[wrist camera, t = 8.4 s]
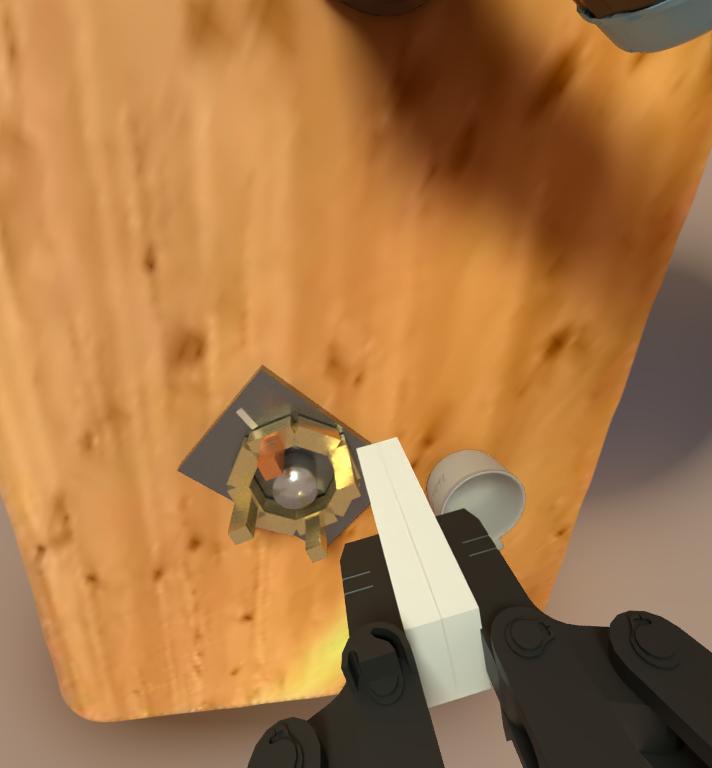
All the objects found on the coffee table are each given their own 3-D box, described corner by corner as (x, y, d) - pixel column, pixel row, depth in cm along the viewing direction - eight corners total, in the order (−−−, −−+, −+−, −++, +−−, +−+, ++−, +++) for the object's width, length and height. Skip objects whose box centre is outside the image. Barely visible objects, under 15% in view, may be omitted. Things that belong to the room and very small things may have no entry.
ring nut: (211, 446, 42) (194, 487, 36) (329, 400, 42) (334, 432, 36) (266, 534, 48) (260, 584, 41) (369, 494, 48) (381, 537, 41)
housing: (262, 364, 42) (257, 382, 37) (400, 463, 49) (411, 490, 44) (180, 463, 45) (165, 492, 40) (322, 542, 52) (324, 575, 47)
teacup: (413, 451, 49) (434, 489, 41) (492, 428, 49) (526, 462, 42) (430, 529, 54) (451, 575, 47) (500, 508, 55) (532, 550, 47)
